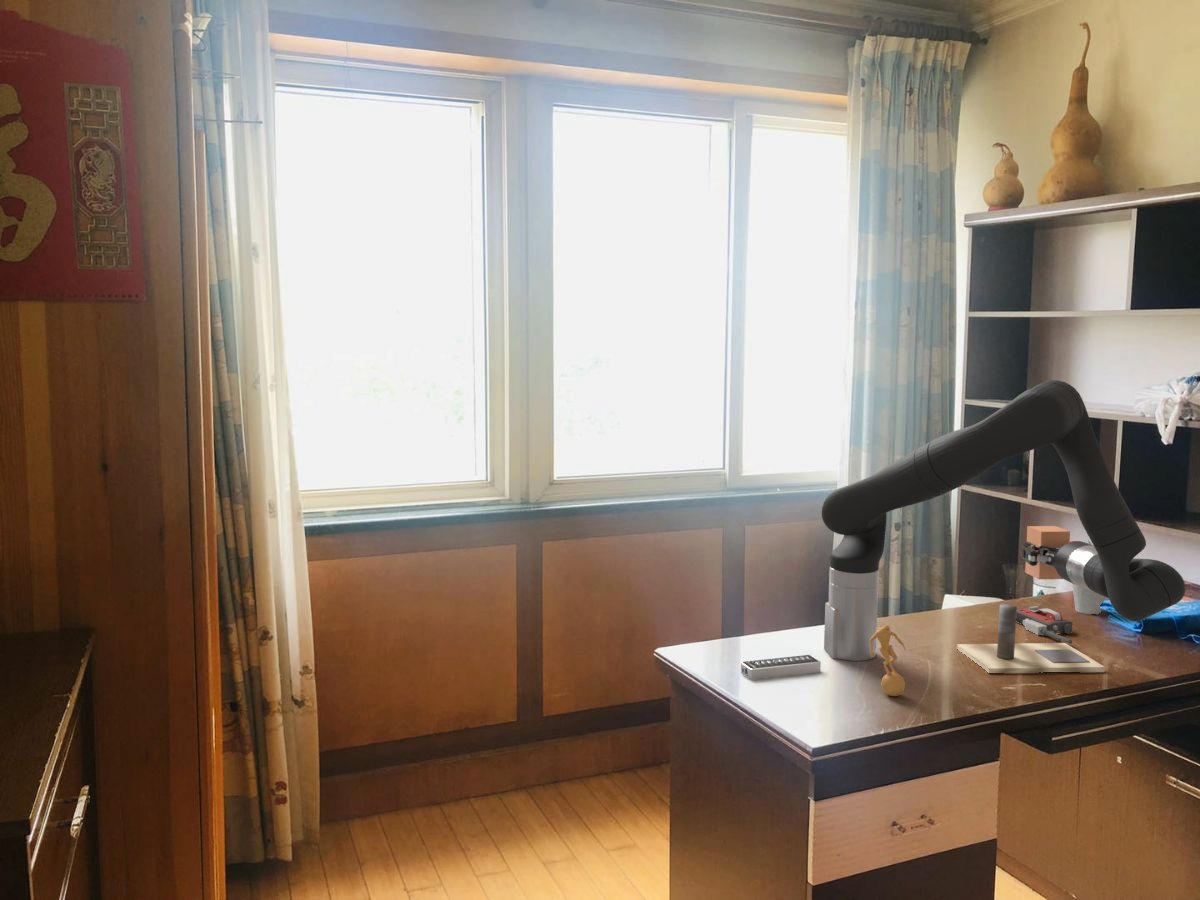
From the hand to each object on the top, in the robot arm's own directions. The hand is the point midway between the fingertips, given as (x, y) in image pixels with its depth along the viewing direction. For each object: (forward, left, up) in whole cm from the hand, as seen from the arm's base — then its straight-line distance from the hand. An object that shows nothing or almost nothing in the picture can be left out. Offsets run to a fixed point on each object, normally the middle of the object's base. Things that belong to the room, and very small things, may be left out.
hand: (1040, 546), depth 180 cm
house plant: (+29, +30, -22) cm, 47 cm away
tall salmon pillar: (0, -3, -5) cm, 6 cm away
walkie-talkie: (+12, +17, -23) cm, 31 cm away
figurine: (-35, -17, -22) cm, 45 cm away
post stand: (-2, -1, -22) cm, 22 cm away
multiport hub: (-51, -5, -23) cm, 56 cm away
